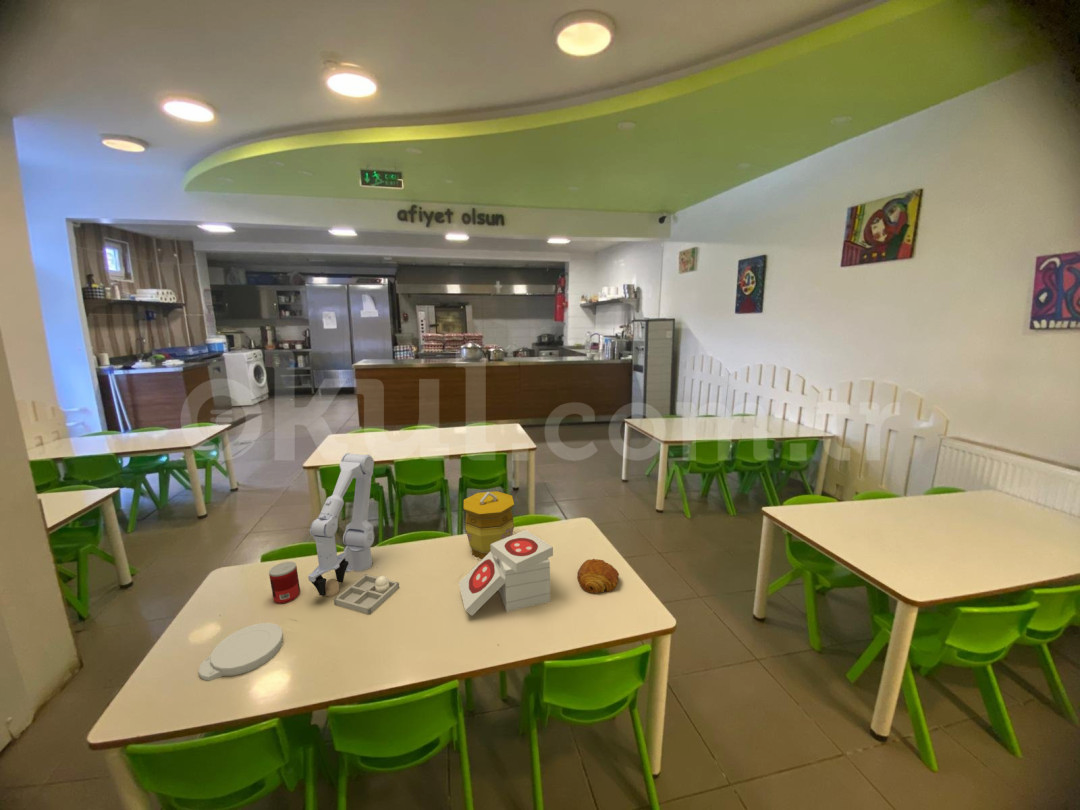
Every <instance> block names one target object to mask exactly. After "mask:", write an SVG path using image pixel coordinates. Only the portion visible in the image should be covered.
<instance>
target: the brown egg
mask: <svg viewBox="0 0 1080 810" xmlns="http://www.w3.org/2000/svg"><path fill="white" fill-rule="evenodd" d="M339 583H340V582H338V581H337V579H336V578H330V579H327V580H326V585H325V589H326V595H325V596H326V597H334V596H337V594H338V595H339V593H340V585H339Z"/></svg>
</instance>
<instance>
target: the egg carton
mask: <svg viewBox="0 0 1080 810" xmlns="http://www.w3.org/2000/svg"><path fill="white" fill-rule="evenodd" d="M378 577H379V576H374V575H369V574H364V575H363V576H362V577H360V578H359V579H358V580H356V581H355V582H354V583H352V584H351V585H350V586H349V587H347V588H346V589H345V590H344V591H342V592H341V593H340V594H338V595H336V597H335V598H333V603H334V606H337V607H341V608H343V609H344V608H345V609H349V610H352V611H355V612H358V613H361V614H362V613H363V614H366V615H372V613H373V612H374V611H376V610H377V608H379V607H380V606H381V605H382V604H384V603H385V602H386V600H388V599H389V598H390V597H391V596H392V595H393V594H394V593H396V592H397V590H399V589H400V582H397V581H394V580H391V579H388V580H389V588H390V589H388V590H387V591H386V592H385V593H384V594H382V593H378V592H376V589H375V581H376V579H377V578H378Z"/></svg>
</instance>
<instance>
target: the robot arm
mask: <svg viewBox="0 0 1080 810" xmlns="http://www.w3.org/2000/svg"><path fill="white" fill-rule="evenodd" d="M374 465H375V460H374V458H373V456H371V454H359V453H349V452H347V453H345V454H343V455H342V457H341V459H340V462H339V471H340V472H339V475H338V478H337V481H336V484H335V486H334V489H333V492H332V494H331V495H330V496H328V497H326V499H325V502H324V504H323V506H322V508H321V511H320V513H319V515H318V517H317V518H316V519H314V520H313V521H312V523H310V524H311V525H310V529H309V533H310V535H311V536H312V538H313V540H314V541H315V547H316V552H317V554H316V555H317V561H318V565H317V567H316V568H315V569H314V570H313V571H312V572H311V573H310V574H309V575H308V576H307V577H308V581H309V582H310V583H311V584H312V585H313V586H314V587H315V588H316V590H317V592H318V593H317V594H318V595H319V596H322V597H325V596H326V589H325V585H326V581H328V579H327V578H324V577H323V575H324V574H326V573H328V572H330V571H333V570H334V573H335V579H336V580H337V581H338V583H341V584H342V583H344V580H345V574H346V572H348V573H349V572H351V571H354V572H362V571H363V572H364V571H366V570H368V569H370V568H371V567H372V566H373V560H372V549H371V546H372V545H373V544H374V540H375V532H374V525H373V524H371V522H369V520H368V517H369V508H370V507H369V506H370V497H371V496H370V495H371V487H372V485H371V484H372V476H373V474H374ZM353 479H355V487H354V497H353V506H352V516H351V517H352V518H351V521H350V522H349V523H348V524H347V525H345V530H344V532H343V536H342V542H343V544H344V545H345V548H344V549H343V552H342V553H340V554H338V552H337V551H338V550H337V545H336V536H335V534H336V533H337V531H338V526H339V525H338V524H339V516H340V514H341V511H342V509H343V506H344V505H345V502H344V499H343V497H344V496H345V494H346V493H347V491H348V488H349V487H350V485H351V483H352V482H353Z"/></svg>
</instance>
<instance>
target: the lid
mask: <svg viewBox="0 0 1080 810" xmlns="http://www.w3.org/2000/svg"><path fill="white" fill-rule="evenodd" d="M283 637H284V634H283V629H282V627H281V626H279V625H278V624H276V623H273V622H260V623H254V624H250V625H249V626H245V627H243V628H239V629H238V630H236V631H234V632H232V633H230V634H229V635H227V636H226V637H224V638H223V639H222V640H220V642H219V643H218V644H217V645H216V646H215V647H214V649H213V650H212V652H211V653H210V655H209V656H207V657H206V658H205V659H203V661H202V662H201V663H200V665H199V667H198V676H199V677H200V678H201V680H204V681H213V680H216V679H218V678H221V677H224V676H226V677H227V676H231V677H232V676H237V675H242V674H245V673H248V672H251V671H253V670H255V669H257V668H259V667H261V666H263V665H264V664H266V663H267V662H268V661H270V660H271V659H272V658H273V657H274V656H275V655H276V654H277V653H278V652H279V651H280V649H281V646H282V643H283Z"/></svg>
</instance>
